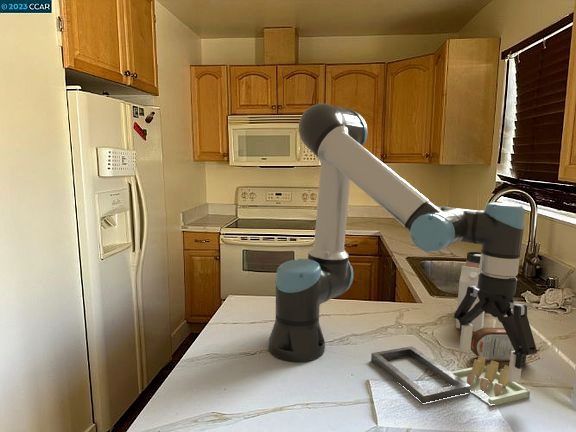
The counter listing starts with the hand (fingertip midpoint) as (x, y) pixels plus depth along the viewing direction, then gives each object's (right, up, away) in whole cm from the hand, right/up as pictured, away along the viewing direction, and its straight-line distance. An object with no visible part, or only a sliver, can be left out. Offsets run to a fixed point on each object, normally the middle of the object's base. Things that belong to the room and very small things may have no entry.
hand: (487, 364), depth 90 cm
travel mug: (+20, +1, +49) cm, 53 cm away
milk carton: (+12, -1, +34) cm, 36 cm away
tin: (+10, -4, +14) cm, 17 cm away
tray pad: (0, -5, 0) cm, 5 cm away
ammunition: (0, -5, +1) cm, 5 cm away
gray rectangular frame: (-15, -4, +4) cm, 16 cm away
